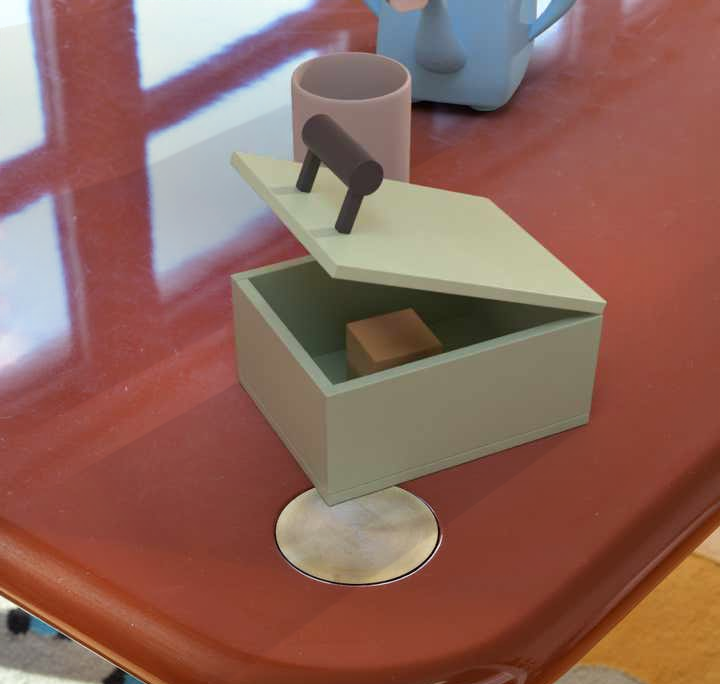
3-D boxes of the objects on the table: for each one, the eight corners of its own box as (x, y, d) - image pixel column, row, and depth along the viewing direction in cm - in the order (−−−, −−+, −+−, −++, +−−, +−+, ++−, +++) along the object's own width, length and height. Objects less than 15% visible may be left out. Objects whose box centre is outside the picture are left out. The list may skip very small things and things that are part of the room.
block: (375, 422, 82) (375, 361, 79) (346, 382, 85) (345, 323, 82) (440, 404, 83) (443, 344, 80) (410, 366, 86) (411, 307, 83)
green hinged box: (328, 506, 78) (326, 396, 72) (238, 380, 87) (229, 274, 81) (589, 423, 83) (604, 315, 78) (478, 313, 92) (485, 209, 87)
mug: (425, 235, 100) (430, 92, 92) (314, 255, 98) (310, 110, 90) (372, 163, 108) (373, 26, 101) (269, 179, 106) (262, 41, 99)
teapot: (332, 64, 122) (329, -94, 113) (494, 34, 127) (504, -120, 118) (419, 150, 110) (423, -19, 101) (594, 113, 115) (614, -51, 106)
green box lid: (331, 278, 68) (366, 185, 65) (228, 163, 77) (255, 77, 74) (602, 314, 78) (640, 235, 75) (483, 209, 87) (514, 135, 84)
